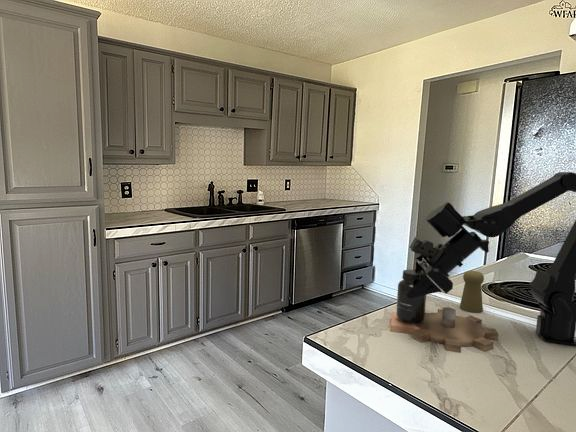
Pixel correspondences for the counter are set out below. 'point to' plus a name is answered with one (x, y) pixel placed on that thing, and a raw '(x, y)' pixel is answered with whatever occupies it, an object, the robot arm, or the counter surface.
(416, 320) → the supplement bottle
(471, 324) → the sprocket plate
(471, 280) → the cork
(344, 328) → the counter surface
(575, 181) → the robot arm
